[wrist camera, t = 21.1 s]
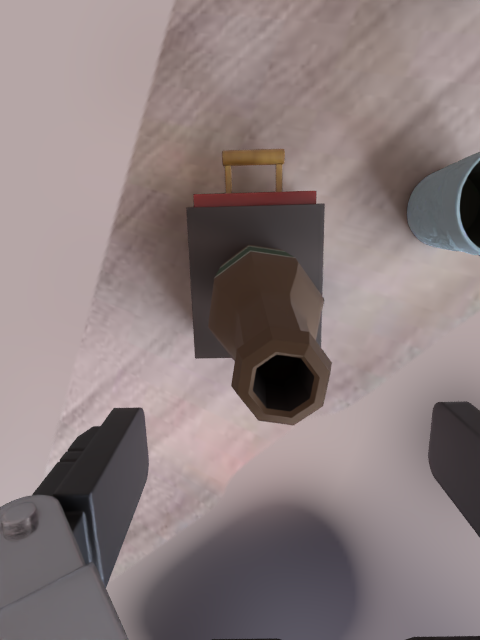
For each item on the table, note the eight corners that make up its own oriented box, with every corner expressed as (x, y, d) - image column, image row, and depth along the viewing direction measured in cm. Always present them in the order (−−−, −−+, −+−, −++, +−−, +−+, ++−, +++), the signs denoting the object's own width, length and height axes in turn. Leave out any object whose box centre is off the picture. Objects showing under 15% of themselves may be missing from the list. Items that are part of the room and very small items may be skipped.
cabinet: (198, 211, 44) (186, 207, 35) (307, 208, 44) (324, 203, 35) (204, 332, 48) (195, 358, 38) (305, 330, 48) (320, 355, 38)
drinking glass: (385, 233, 45) (435, 236, 33) (424, 145, 42) (493, 115, 31) (463, 263, 45) (538, 277, 34) (505, 179, 43) (603, 162, 32)
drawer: (200, 159, 42) (190, 145, 35) (304, 156, 42) (317, 141, 34) (207, 316, 46) (200, 334, 39) (302, 314, 46) (313, 331, 39)
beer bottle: (202, 297, 37) (132, 420, 14) (244, 226, 35) (245, 227, 12) (270, 337, 38) (315, 516, 15) (314, 269, 36) (443, 349, 13)
